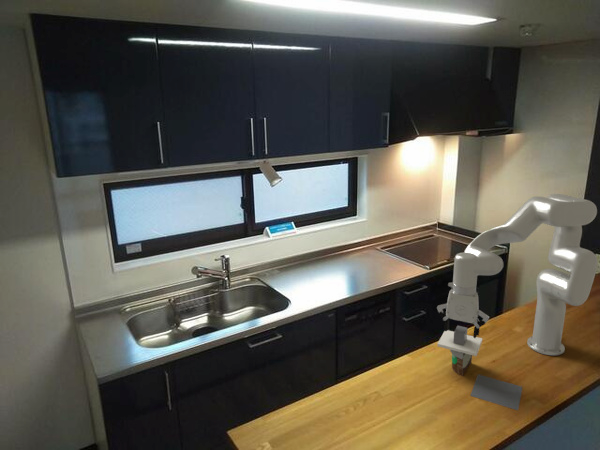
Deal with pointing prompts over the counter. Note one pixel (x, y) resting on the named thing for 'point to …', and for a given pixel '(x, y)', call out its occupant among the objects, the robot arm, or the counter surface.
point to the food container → (460, 361)
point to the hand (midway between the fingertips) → (460, 332)
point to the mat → (497, 392)
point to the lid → (460, 341)
